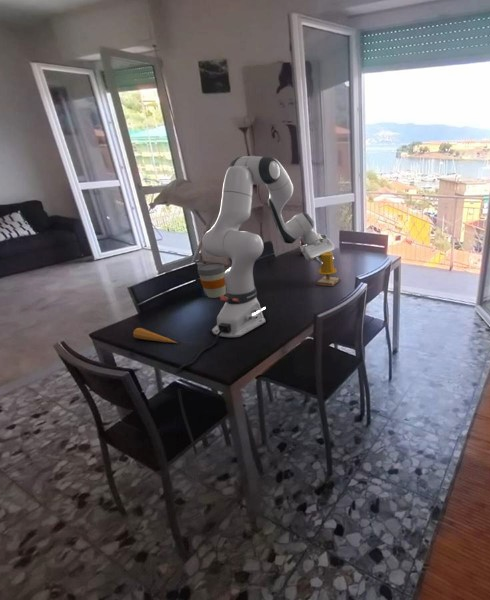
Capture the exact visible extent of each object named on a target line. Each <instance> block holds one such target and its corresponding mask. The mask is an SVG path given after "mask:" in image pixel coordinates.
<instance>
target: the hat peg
mask: <svg viewBox="0 0 490 600" xmlns="http://www.w3.org/2000/svg"><path fill="white" fill-rule="evenodd" d="M339 281H340V277H334V276H331V274H330V275H323V276H322V277H321V278H320V279H319V280H318V281H317V282H316V284H317V285H318V286H324V287H325V286H326V287H334V286H335V285H336V284H337V283H339Z"/></svg>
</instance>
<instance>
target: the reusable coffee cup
mask: <svg viewBox="0 0 490 600" xmlns="http://www.w3.org/2000/svg"><path fill="white" fill-rule="evenodd" d="M225 272H226V268H225V264H224V263H223V262H218V261H217V262H216V261H214V262H206V263H203V264H200V265H199V266H197V275H198V276H199V281H200V283H201V286H202V288H203V289H204V291H205V294H206V296H207V298H210V299H216V298H221V296H226V291H227V288H226V283H225V278H224V274H225Z"/></svg>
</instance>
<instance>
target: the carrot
mask: <svg viewBox="0 0 490 600" xmlns="http://www.w3.org/2000/svg"><path fill="white" fill-rule="evenodd" d="M132 334H133V338H135V339H139V340H144V341H145V340H146V341H152V342H160V343H169V344H178V341H175V340H173V339H170V338H169V337H166V336H163V335H160V334H158V333H155V332H153V331H150V330H148V329H145V328H143V327H136V328H135V329H134V330H133V332H132Z"/></svg>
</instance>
